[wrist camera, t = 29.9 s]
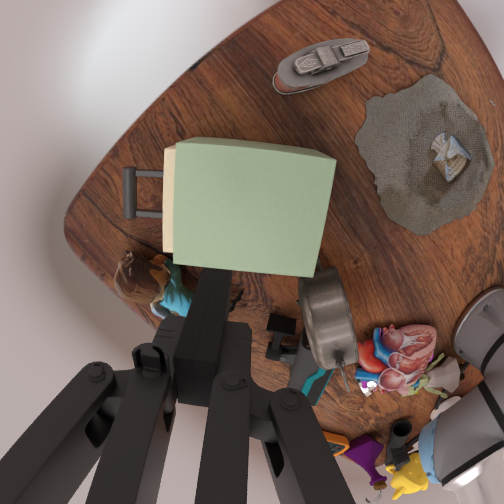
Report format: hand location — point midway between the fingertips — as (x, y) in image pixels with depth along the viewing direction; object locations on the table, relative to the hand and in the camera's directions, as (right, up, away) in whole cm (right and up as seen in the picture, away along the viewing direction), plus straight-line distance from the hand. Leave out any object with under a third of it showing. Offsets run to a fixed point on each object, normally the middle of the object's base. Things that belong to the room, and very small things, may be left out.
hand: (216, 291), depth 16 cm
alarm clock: (+10, -2, +21) cm, 24 cm away
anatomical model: (+31, -15, +21) cm, 40 cm away
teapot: (+46, -54, +35) cm, 79 cm away
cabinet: (+2, +9, +16) cm, 18 cm away
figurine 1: (-8, -2, +21) cm, 23 cm away
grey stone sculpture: (+23, +15, +13) cm, 31 cm away
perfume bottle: (+28, -42, +40) cm, 64 cm away
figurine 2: (+41, -20, +25) cm, 52 cm away
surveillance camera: (+3, -12, +24) cm, 27 cm away
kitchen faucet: (+44, -35, +31) cm, 65 cm away
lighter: (+8, +21, +11) cm, 24 cm away
